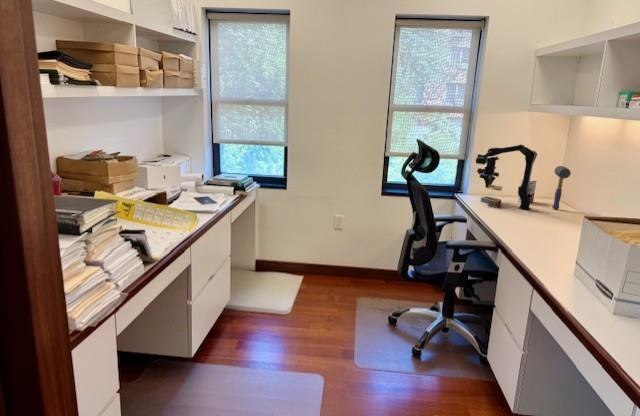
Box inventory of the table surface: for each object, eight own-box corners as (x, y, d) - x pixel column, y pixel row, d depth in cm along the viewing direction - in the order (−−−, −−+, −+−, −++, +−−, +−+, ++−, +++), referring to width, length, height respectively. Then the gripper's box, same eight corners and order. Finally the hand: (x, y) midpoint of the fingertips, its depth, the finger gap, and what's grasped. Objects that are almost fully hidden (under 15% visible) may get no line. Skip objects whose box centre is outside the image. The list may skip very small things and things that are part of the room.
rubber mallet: (564, 212, 294) (572, 168, 286) (552, 211, 295) (560, 167, 288) (558, 207, 306) (566, 165, 298) (546, 206, 307) (554, 164, 300)
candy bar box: (527, 200, 323) (530, 179, 319) (533, 202, 319) (537, 180, 315) (517, 201, 318) (521, 180, 314) (523, 203, 314) (527, 181, 310)
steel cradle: (485, 200, 318) (486, 196, 318) (500, 203, 311) (500, 199, 310) (480, 201, 313) (481, 197, 312) (495, 204, 305) (495, 200, 305)
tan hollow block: (492, 204, 306) (493, 198, 304) (500, 206, 301) (501, 200, 300) (487, 206, 301) (488, 199, 300) (496, 207, 297) (497, 201, 296)
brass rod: (485, 188, 312) (485, 184, 311) (486, 187, 314) (487, 183, 313) (500, 191, 304) (500, 187, 303) (501, 190, 306) (502, 186, 305)
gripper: (486, 163, 319) (483, 183, 323) (473, 164, 307) (471, 186, 311) (500, 165, 312) (497, 186, 316) (489, 167, 299) (485, 189, 303)
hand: (487, 187), depth 311 cm, fingers closed on brass rod, 3 cm apart
